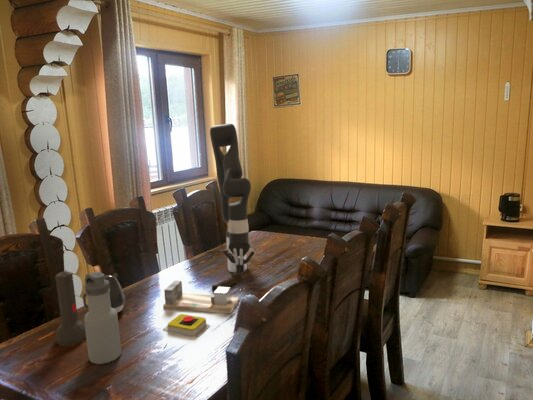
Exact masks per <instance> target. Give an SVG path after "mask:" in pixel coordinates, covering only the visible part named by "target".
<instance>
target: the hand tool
mask: <svg viewBox="0 0 533 400" xmlns="http://www.w3.org/2000/svg"><path fill="white" fill-rule="evenodd" d="M242 274H243V273H242ZM242 274H238V272H233V273H231V276H230V277H228V278H226V279H224V280H223V281H220V282H218V283H217V284H215V285H212V286H211V291H212V293H213V294H214V292H215V290H216V289H217V288H218V287H230V286H232V285H237V284H239V283H240V282H241V281H242V279H243V275H242Z"/></svg>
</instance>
